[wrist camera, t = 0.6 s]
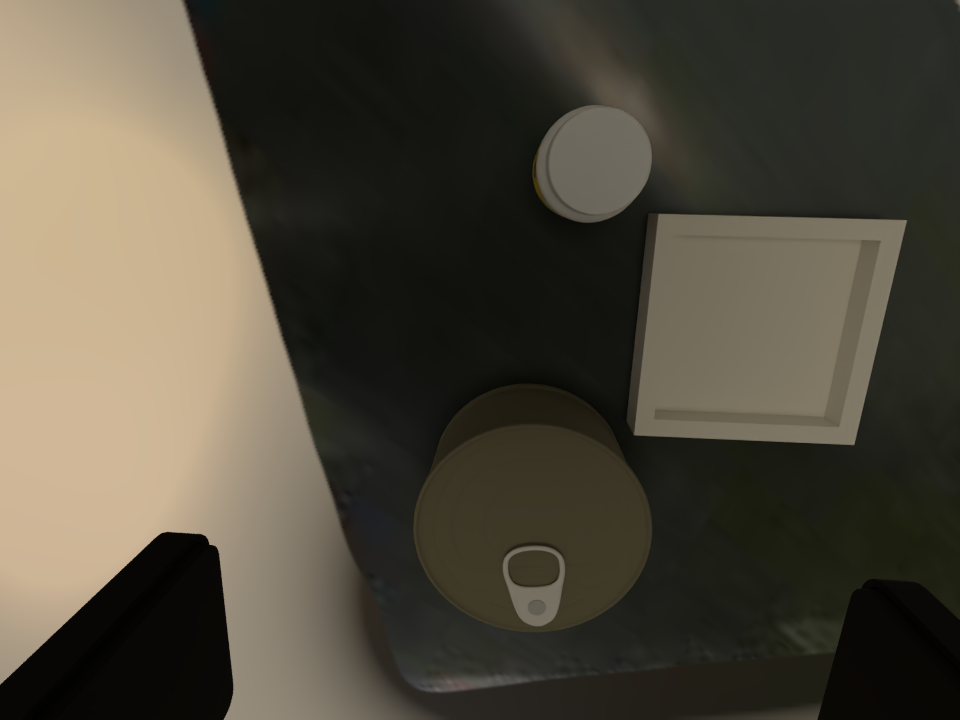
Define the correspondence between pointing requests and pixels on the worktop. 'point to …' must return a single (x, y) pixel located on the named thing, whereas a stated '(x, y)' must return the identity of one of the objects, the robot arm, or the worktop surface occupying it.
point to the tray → (759, 325)
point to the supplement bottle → (592, 163)
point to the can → (531, 511)
